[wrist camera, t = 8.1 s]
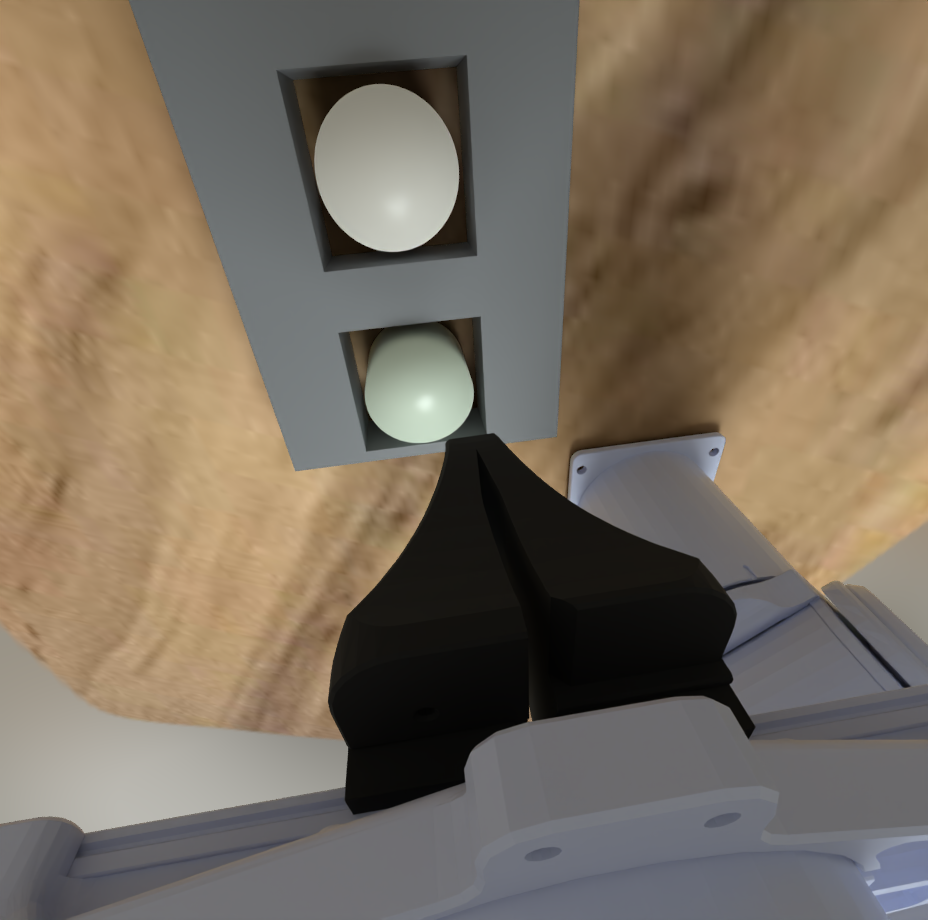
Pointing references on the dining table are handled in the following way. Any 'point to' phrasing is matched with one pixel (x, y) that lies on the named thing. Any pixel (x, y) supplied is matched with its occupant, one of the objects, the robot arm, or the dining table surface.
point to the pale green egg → (418, 382)
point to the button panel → (379, 273)
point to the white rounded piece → (386, 167)
